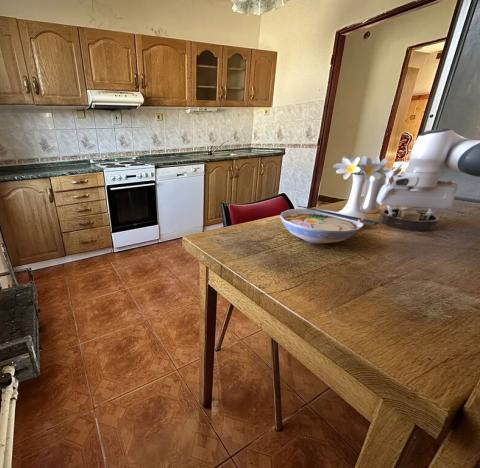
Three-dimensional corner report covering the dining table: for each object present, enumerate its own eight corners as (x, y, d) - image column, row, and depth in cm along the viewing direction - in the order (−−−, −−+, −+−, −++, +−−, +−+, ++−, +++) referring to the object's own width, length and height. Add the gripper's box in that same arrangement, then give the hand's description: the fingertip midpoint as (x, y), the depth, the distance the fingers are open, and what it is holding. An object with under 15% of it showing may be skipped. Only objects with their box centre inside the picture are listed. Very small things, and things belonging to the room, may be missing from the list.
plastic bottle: (362, 214, 106) (375, 165, 99) (355, 210, 112) (366, 163, 105) (380, 215, 105) (394, 165, 97) (372, 211, 111) (385, 163, 104)
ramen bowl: (260, 234, 89) (262, 211, 86) (303, 223, 99) (307, 202, 96) (331, 263, 68) (337, 234, 65) (377, 245, 78) (385, 220, 75)
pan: (422, 220, 97) (425, 210, 96) (445, 234, 84) (450, 223, 83) (372, 217, 103) (375, 207, 102) (387, 229, 90) (390, 219, 88)
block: (410, 222, 94) (414, 210, 93) (416, 226, 91) (420, 214, 89) (395, 221, 96) (399, 209, 94) (400, 225, 92) (404, 213, 91)
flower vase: (380, 239, 82) (404, 158, 73) (317, 227, 94) (330, 156, 85) (384, 228, 91) (406, 155, 82) (325, 218, 103) (339, 153, 94)
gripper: (454, 179, 87) (439, 218, 92) (380, 177, 94) (370, 213, 99) (466, 183, 81) (450, 224, 86) (387, 180, 88) (376, 218, 93)
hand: (407, 218), depth 93 cm, fingers open, 8 cm apart
